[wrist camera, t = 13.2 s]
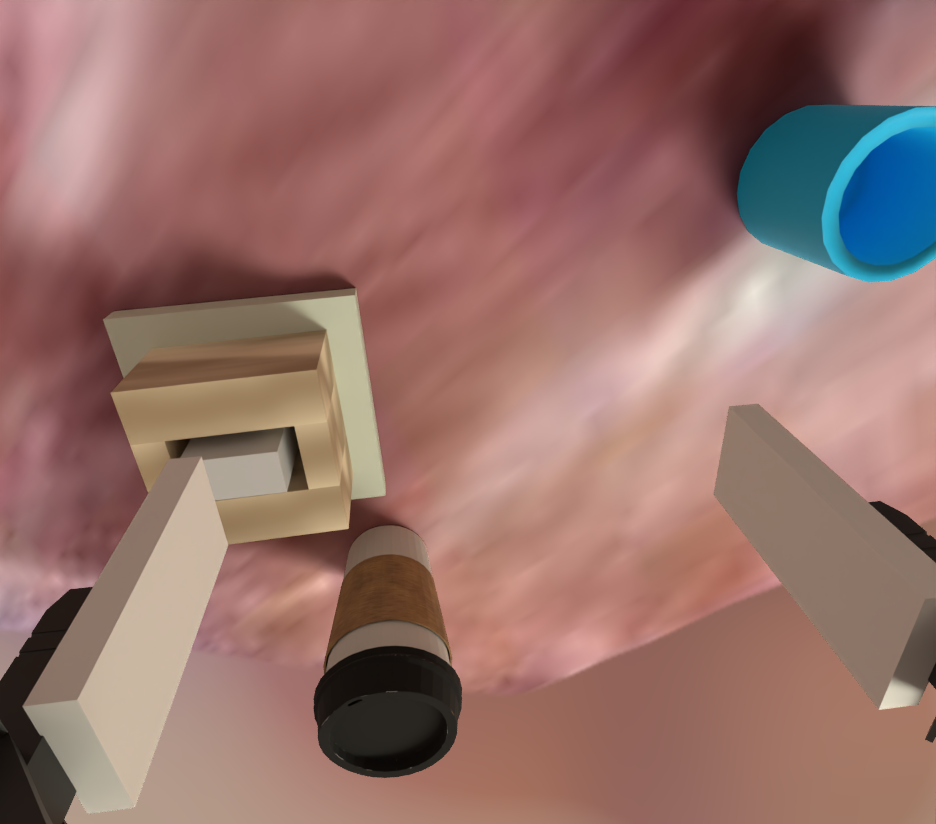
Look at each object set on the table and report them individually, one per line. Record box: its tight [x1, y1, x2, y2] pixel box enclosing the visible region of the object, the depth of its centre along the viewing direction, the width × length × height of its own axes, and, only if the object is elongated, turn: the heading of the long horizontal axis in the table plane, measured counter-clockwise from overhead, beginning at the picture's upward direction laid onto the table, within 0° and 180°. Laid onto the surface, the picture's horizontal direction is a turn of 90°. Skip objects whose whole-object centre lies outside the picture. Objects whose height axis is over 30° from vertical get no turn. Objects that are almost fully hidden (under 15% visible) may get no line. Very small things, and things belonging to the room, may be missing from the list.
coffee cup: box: [314, 525, 462, 778], centre depth 40 cm, size 8×8×15 cm
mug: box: [737, 105, 936, 282], centre depth 34 cm, size 12×8×8 cm
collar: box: [111, 330, 353, 545], centre depth 36 cm, size 10×10×6 cm
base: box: [103, 288, 386, 501], centre depth 36 cm, size 14×14×8 cm
